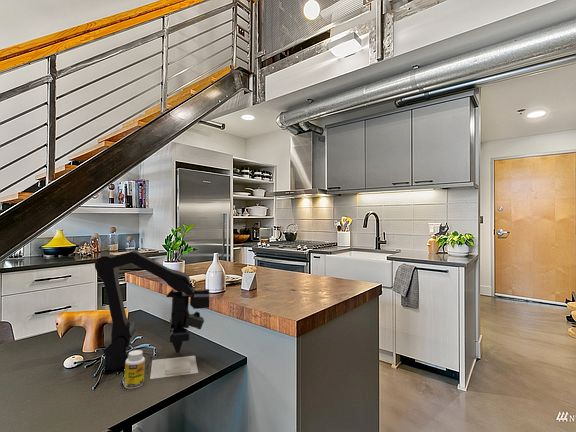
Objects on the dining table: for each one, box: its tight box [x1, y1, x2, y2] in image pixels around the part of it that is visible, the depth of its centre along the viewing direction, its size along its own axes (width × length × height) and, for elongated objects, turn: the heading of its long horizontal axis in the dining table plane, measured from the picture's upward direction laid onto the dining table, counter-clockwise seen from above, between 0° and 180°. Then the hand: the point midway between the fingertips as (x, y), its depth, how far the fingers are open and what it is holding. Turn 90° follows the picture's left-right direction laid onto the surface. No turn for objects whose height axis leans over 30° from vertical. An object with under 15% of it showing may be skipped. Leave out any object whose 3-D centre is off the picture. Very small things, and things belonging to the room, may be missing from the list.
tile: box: [165, 357, 190, 375], centre depth 109 cm, size 8×2×8 cm
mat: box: [149, 355, 199, 380], centre depth 110 cm, size 15×14×1 cm
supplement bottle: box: [123, 349, 146, 390], centre depth 98 cm, size 6×6×10 cm
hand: (177, 352), depth 112 cm, fingers closed
